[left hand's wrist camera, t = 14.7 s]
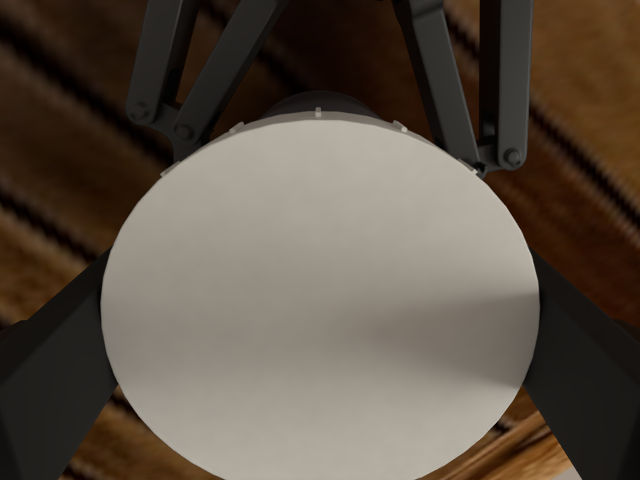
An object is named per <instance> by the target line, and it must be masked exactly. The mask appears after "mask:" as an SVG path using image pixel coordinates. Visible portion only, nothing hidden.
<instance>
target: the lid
mask: <svg viewBox="0 0 640 480" xmlns="http://www.w3.org/2000/svg"><path fill="white" fill-rule="evenodd" d="M476 173H477V171H476V170H475V169H474V168H472V167H471V166H469V165H468V164H467V163H465V162H464V161H462V160H461V159H458V160H456V159H455V158H453V157H452V156H450V155H449V154H448V153H446V152H445V151H443V150H442V149H440V148H439V147H437V146H435V145H434V144H432V143H431V142H429V141H428V140H426V139H424V138H423V137H421V136H420V135H417V134H415V133H413V132H411V131H408V130H407V128H406V127H405V126H403V125H402V124H400V123H399V122H398V121H395V120H394V122H393V124H392V123H389V122H385V121H382V120H379V119H375V118H372V117H368V116H363V115H357V114H350V113H343V112H326V111H321V108H320V107H316V111H307V112H298V113H290V114H282V115H277V116H273V117H269V118H266V119H262V120H258V121H254V122H251V123H248V124H246V125H244V123H243V122H240V123H238V124H237V125H236V126H234V127H233V128H231V129H230V130H229V132H227V133H225V134H223V135H221V136H220V137H218V138H216V139H215V140H213V141H211V142H210V143H208V144H206V145H205V146H203V147H201V148H200V149H198V150H197V151H196V152H194V153H193V154H191V155H190V156H189V157H187V158H186V159H184V160H183V161H182V162H180V161H178V162H176V163H175V164H174V165H172V166H171V167H169V168H168V169H166V170H165V171H163V172H162V173H161V174H160V175H161V176H162V178H161V179H159V180H158V181H157V182H156V183H155V184H154V185H153V187H152V188H151V189H150V190H149V191H148V192H147V193H146V194H145V195H144V196H143V198H142V199H141V200H140V201H139V202H138V203H137V205H136V206H135V208H134V209H133V211H132V212H131V214H130V215H129V217H128V218H127V220H126V221H125V223H124V224H123V226H122V228H121V230H120V232H119V234H118V236H117V238H116V241H115V243H114V245H113V247H112V249H111V252H110V255H109V259H108V262H107V266H106V269H105V273H104V277H103V285H102V294H101V302H100V305H101V328H102V333H103V338H104V343H105V348H106V353H107V356H108V359H109V362H110V365H111V368H112V370H113V373H114V376H115V378H116V380H117V382H118V383H119V385H120V387H121V389H122V391H123V393H124V395H125V397H126V398H127V400H128V401H129V403H130V404H131V405H132V407H133V408H134V410H135V411H136V413H137V414H138V416H139V417H140V418H141V419H142V420H143V421H144V422H145V423H146V424H147V426H148V427H149V428H150V429H151V430H152V431H153V432H154V433H155V434H156V435H157V436H158V437H159V438H160V439H161V440H163V441H164V442H165V443H166V444H167V445H168V446H169V447H171V448H172V449H173V450H174V451H176V452H177V453H179V454H180V455H182V456H183V457H185V458H186V459H187V460H189V461H190V462H192V463H193V464H195V465H197V466H199V467H201V468H203V469H204V470H206V471H208V472H210V473H212V474H214V475H216V476H218V477H221V478H223V479H226V480H415V479H417V478H420V477H422V476H424V475H426V474H428V473H430V472H432V471H434V470H436V469H438V468H440V467H442V466H444V465H445V464H447V463H448V462H450V461H451V460H453V459H454V458H456V457H457V456H459V455H460V454H462V453H463V452H465V451H466V450H467V449H468V448H470V447H471V446H472V445H473V444H474V443H476V442H477V441H478V440H479V439H480V438H482V437H483V436H484V435H485V434H486V432H487V431H488V430H489V429H490V428H491V427H492V426H493V425H494V424H495V423H496V422H497V421H498V420H499V418H500V417H501V416H502V414H503V413H504V412H505V410H506V409H507V408H508V406H509V405H510V404H511V402H512V401H513V399H514V397H515V396H516V394H517V392H518V390H519V388H520V386H521V385H522V383H523V381H524V379H525V377H526V374H527V371H528V369H529V366H530V363H531V361H532V358H533V354H534V349H535V344H536V340H537V335H538V330H539V318H540V300H539V288H538V280H537V276H536V272H535V268H534V264H533V259H532V256H531V253H530V251H529V249H528V246H527V244H526V242H525V239H524V237H523V234H522V232H521V230H520V229H519V227H518V225H517V224H516V222H515V221H514V219H513V217H512V216H511V214H510V212H509V211H508V209H507V208H506V206H505V205H504V204H503V203H502V202H501V201H500V199H499V198H498V197H497V196H496V195H495V194H494V192H493V191H492V190H491V189H490V188H489V187H488V185H487V184H485V183H484V182H483V181H482V180H481V179H480V178H478V177H477V176H476V175H475V174H476Z"/></svg>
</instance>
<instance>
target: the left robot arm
mask: <svg viewBox="0 0 640 480" xmlns="http://www.w3.org/2000/svg"><path fill="white" fill-rule="evenodd" d="M527 246H528V245H527ZM112 247H113V245H112V246H111V247H110V248H109V249H108V250H107V251H106V252H104V253H103V254H102V255H101V256H100V257H99V258H98V259H96V260H95V261H94V262H93V263H92V264H91V265H90V266H88V267H87V268H86V269H85V270H84V271H83V272H82V273H80V274H79V275H78V276H77V277H76V278H75V279H74V280H72V281H71V282H70V283H69V284H68V285H67V286H66V287H64V288H63V289H62V290H61V291H60V292H59V293H58V294H56V295H55V296H54V297H53V298H52V299H51V300H50V301H48V302H47V303H46V304H45V305H44V306H43V307H42V308H40V309H39V310H38V311H37V312H36V313H35V314H34V315H32V316H31V317H30V318H29V319H28V320H21V321H19V322H17V323H15V324H13V325H11V326H9V327H7V328H5V329H3V330H2V331H0V480H58V479H59V477H60V476H61V474H62V473H63V471H64V469H65V468H66V466H67V465H68V463H69V461H70V460H71V458H72V457H73V455H74V453H75V452H76V450H77V449H78V447H79V446H80V444H81V442H82V441H83V439H84V438H85V436H86V434H87V433H88V431H89V430H90V428H91V427H92V425H93V423H94V422H95V420H96V419H97V417H98V415H99V414H100V412H101V411H102V409H103V407H104V406H105V404H106V403H107V401H108V400H109V398H110V396H111V395H112V393H113V392H114V390H115V388H116V387H117V385H118V384H119V383H118V382H117V380H116V378H115V376H114V373H113V370H112V368H111V365H110V362H109V359H108V356H107V353H106V348H105V343H104V338H103V333H102V328H101V305H100V302H101V294H102V285H103V277H104V273H105V269H106V266H107V262H108V259H109V255H110V252H111V249H112ZM528 249H529V251H530V253H531V256H532V259H533V264H534V268H535V272H536V276H537V280H538V288H539V300H540V318H539V330H538V335H537V340H536V344H535V349H534V354H533V358H532V361H531V363H530V366H529V369H528V371H527V374H526V377H525V379H524V381H523V383H522V385H523V386H524V388H525V390H526V391H527V393H528V394H529V396H530V398H531V399H532V401H533V402H534V404H535V405H536V407H537V409H538V410H539V412H540V413H541V415H542V417H543V418H544V420H545V421H546V423H547V425H548V426H549V428H550V429H551V431H552V432H553V434H554V436H555V437H556V439H557V440H558V442H559V444H560V445H561V447H562V448H563V450H564V451H565V453H566V455H567V456H568V458H569V459H570V461H571V463H572V464H573V466H574V467H575V469H576V471H577V472H578V474H579V475H580V477H581V478H582V480H640V329H638V328H636V327H635V326H633V325H631V324H629V323H627V322H625V321H623V320H621V319H611V318H610V317H609V316H608V315H607V314H606V313H604V312H603V311H602V310H601V309H600V308H599V307H598V306H596V305H595V304H594V303H593V302H592V301H591V300H590V299H588V298H587V297H586V296H585V295H584V294H583V293H582V292H580V291H579V290H578V289H577V288H576V287H575V286H574V285H572V284H571V283H570V282H569V281H568V280H567V279H566V278H564V277H563V276H562V275H561V274H560V273H559V272H558V271H556V270H555V269H554V268H553V267H552V266H551V265H550V264H548V263H547V262H546V261H545V260H544V259H543V258H542V257H540V256H539V255H538V254H537V253H536V252H535V251H534V250H532V249H531V248H530V247H529V246H528Z"/></svg>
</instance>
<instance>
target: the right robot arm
mask: <svg viewBox="0 0 640 480" xmlns="http://www.w3.org/2000/svg"><path fill="white" fill-rule="evenodd" d="M290 1H291V0H241V1H240V2H239V4H238V6H237V8H236V10H235V11H234V13H233V15H232V17H231V19H230V20H229V22H228V24H227V26H226V28H225V29H224V31H223V33H222V35H221V37H220V38H219V40H218V42H217V44H216V46H215V47H214V49H213V51H212V53H211V55H210V56H209V58H208V60H207V62H206V64H205V65H204V67H203V69H202V71H201V73H200V74H199V76H198V78H197V80H196V82H195V83H194V85H193V87H192V89H191V91H190V92H189V94H188V96H187V98H186V100H185V101H184V103H183V105H182V104H180V103H178V102H176V101H175V100H176V96H177V92H178V88H179V84H180V81H181V77H182V73H183V69H184V65H185V61H186V57H187V53H188V49H189V45H190V41H191V37H192V33H193V29H194V25H195V21H196V17H197V13H198V9H199V5H200V2H201V0H148V3H147V7H146V12H145V17H144V21H143V26H142V31H141V35H140V40H139V45H138V49H137V54H136V59H135V63H134V68H133V73H132V77H131V82H130V86H129V91H128V96H127V100H126V105H125V111H126V114H127V117H128V118H129V119H130V120H131V122H133V123H134V124H136V125H140V126H145V125H146V126H148V127H150V128H152V129H154V130H156V131H158V132H160V133H162V134H163V135H165V136H166V137H167V138H168V139H169V140H170V142H171V143H172V146H173V151H174V164H175V163H176V162H178V161H180V162H182V161H183V160H184V159H186V158H187V157H189V156H190V155H191V154H193V153H194V152H196V151H197V150H198V149H200V148H201V147H203V146H205V145H206V144H208V143H210V142H209V141H210V134H212V132H213V131H214V130H213V128H214V127H215V125H216V123H217V121H218V120H219V118H220V116H221V115H222V113H223V111H224V110H225V108H226V106H227V105H228V103H229V101H230V99H231V98H232V96H233V94H234V93H235V91H236V89H237V88H238V86H239V84H240V83H241V81H242V79H243V77H244V76H245V74H246V72H247V71H248V69H249V67H250V66H251V64H252V62H253V61H254V59H255V57H256V55H257V54H258V52H259V50H260V49H261V47H262V45H263V44H264V42H265V40H266V39H267V37H268V35H269V34H270V32H271V30H272V28H273V27H274V25H275V23H276V22H277V20H278V18H279V17H280V15H281V13H282V12H283V10H284V9H285V8H286V7H287V5H288V4H289V2H290ZM377 1H383V0H377ZM391 1H392V4H393V8H394V11H395V15H396V18H397V20H398V22H399V24H400V26H401V28H402V32H403V35H404V39H405V42H406V46H407V49H408V53H409V56H410V60H411V63H412V67H413V70H414V74H415V77H416V81H417V84H418V88H419V91H420V95H421V98H422V102H423V106H424V109H425V113H426V116H427V120H428V123H429V127H430V130H431V134H432V137H433V141H434V144H435V146H437V147H439V148H440V149H442V150H443V151H445V152H446V153H448V154H449V155H450V156H452V157H453V158H455V159H456V160H458V159H461V160H462V161H464V162H465V163H467V164H468V165H469V166H471V167H472V168H474V169H475V170H476V171H477V173H476V174H475V175H476V176H477V177H478V178H480V179H481V180H483V179H484V178H485V176H486V173H487V172H492V171H496V170H501V169H505V170H511V171H512V170H515V169H518V168H519V167H520V166H522V165H523V163H524V162H525V160H526V156H527V139H528V116H529V94H530V72H531V50H532V27H533V5H534V0H480V52H479V139H478V140H475V136H474V132H473V128H472V124H471V120H470V116H469V112H468V108H467V104H466V100H465V96H464V92H463V88H462V84H461V80H460V76H459V72H458V68H457V64H456V60H455V56H454V52H453V48H452V44H451V40H450V36H449V32H448V28H447V24H446V20H445V16H444V12H443V0H391Z"/></svg>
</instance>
